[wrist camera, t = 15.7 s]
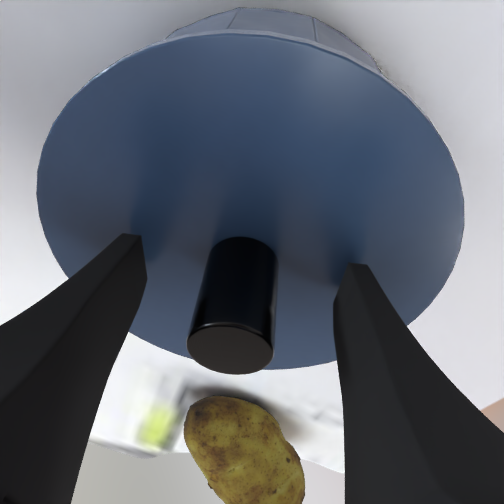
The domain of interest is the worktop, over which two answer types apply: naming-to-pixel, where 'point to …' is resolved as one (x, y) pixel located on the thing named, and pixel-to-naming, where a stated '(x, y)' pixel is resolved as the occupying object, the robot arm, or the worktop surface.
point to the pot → (279, 28)
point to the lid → (251, 192)
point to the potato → (243, 452)
